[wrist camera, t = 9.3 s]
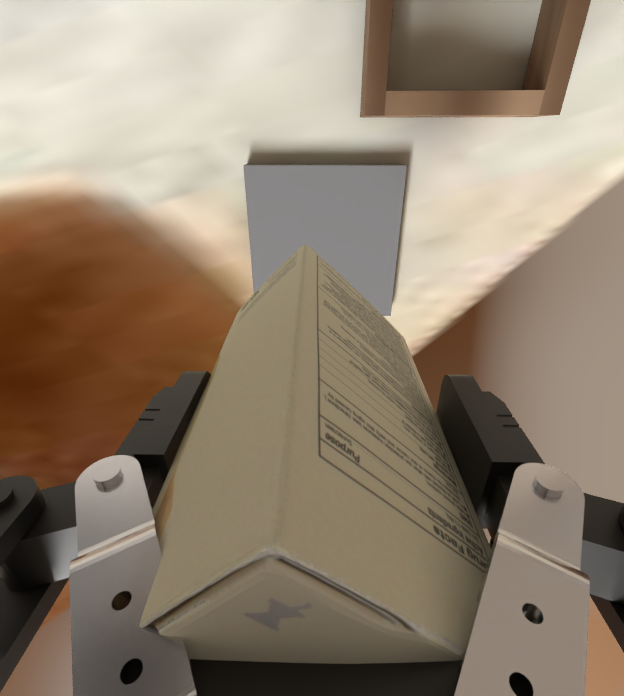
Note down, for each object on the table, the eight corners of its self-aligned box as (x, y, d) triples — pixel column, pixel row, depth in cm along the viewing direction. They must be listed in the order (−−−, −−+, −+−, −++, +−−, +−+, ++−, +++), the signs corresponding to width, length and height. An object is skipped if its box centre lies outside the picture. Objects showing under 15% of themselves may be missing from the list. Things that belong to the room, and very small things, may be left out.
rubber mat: (257, 308, 32) (255, 314, 31) (246, 164, 27) (243, 165, 26) (388, 309, 32) (390, 315, 31) (403, 164, 26) (407, 165, 25)
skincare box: (234, 312, 16) (49, 668, 5) (306, 237, 14) (247, 534, 4) (340, 400, 18) (360, 783, 7) (413, 343, 16) (573, 730, 6)
